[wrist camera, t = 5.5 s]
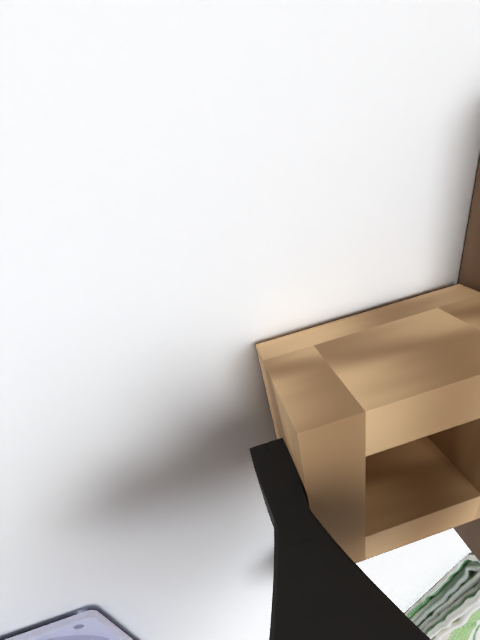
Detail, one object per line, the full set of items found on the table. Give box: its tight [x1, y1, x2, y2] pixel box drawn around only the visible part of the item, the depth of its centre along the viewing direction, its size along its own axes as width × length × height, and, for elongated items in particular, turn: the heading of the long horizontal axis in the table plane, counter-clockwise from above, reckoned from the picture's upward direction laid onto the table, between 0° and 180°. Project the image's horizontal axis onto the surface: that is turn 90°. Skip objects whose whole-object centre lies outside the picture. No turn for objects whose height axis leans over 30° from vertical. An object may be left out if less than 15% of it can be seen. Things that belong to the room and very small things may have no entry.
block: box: [256, 284, 480, 563], centre depth 11 cm, size 8×8×4 cm
